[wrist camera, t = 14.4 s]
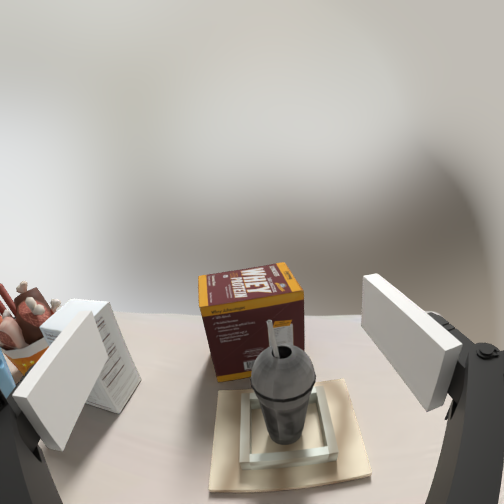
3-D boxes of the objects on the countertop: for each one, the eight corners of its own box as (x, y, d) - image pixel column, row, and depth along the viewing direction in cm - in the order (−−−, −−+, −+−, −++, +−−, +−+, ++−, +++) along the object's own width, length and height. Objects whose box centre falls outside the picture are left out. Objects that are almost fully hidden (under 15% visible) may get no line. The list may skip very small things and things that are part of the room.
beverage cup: (323, 433, 35) (334, 316, 27) (280, 462, 31) (270, 352, 24) (290, 404, 41) (285, 289, 33) (248, 428, 37) (227, 314, 30)
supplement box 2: (212, 346, 57) (197, 275, 51) (289, 332, 59) (286, 260, 53) (216, 383, 48) (197, 307, 42) (305, 366, 49) (304, 288, 43)
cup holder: (210, 492, 28) (204, 482, 27) (219, 394, 45) (215, 380, 44) (370, 475, 28) (376, 464, 26) (343, 382, 44) (345, 367, 43)
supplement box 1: (143, 379, 49) (112, 300, 42) (120, 415, 41) (77, 335, 34) (103, 370, 51) (71, 296, 45) (79, 401, 43) (37, 326, 36)
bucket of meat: (94, 348, 57) (61, 265, 50) (57, 400, 42) (7, 310, 35) (37, 339, 60) (6, 268, 52) (1, 379, 45) (-40, 303, 37)
